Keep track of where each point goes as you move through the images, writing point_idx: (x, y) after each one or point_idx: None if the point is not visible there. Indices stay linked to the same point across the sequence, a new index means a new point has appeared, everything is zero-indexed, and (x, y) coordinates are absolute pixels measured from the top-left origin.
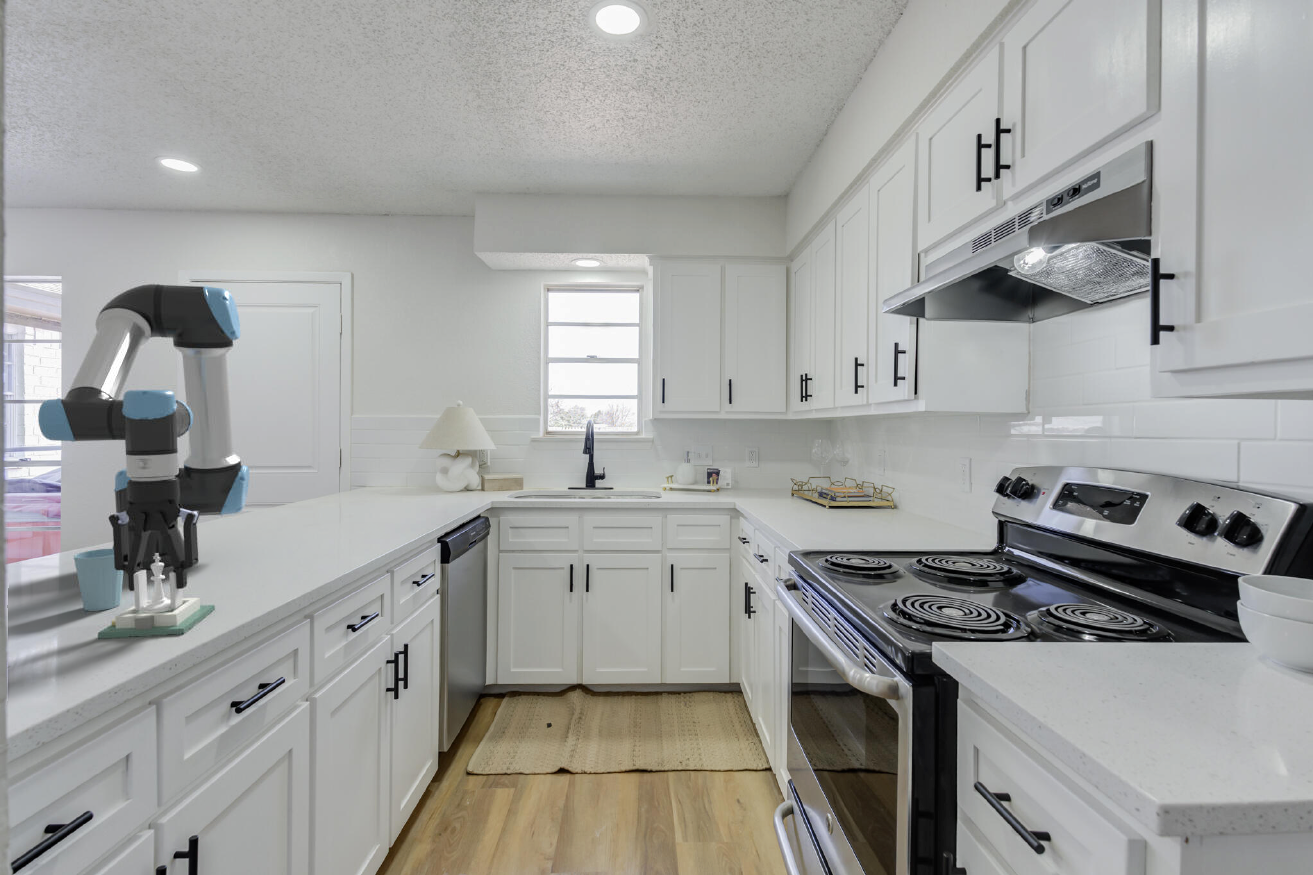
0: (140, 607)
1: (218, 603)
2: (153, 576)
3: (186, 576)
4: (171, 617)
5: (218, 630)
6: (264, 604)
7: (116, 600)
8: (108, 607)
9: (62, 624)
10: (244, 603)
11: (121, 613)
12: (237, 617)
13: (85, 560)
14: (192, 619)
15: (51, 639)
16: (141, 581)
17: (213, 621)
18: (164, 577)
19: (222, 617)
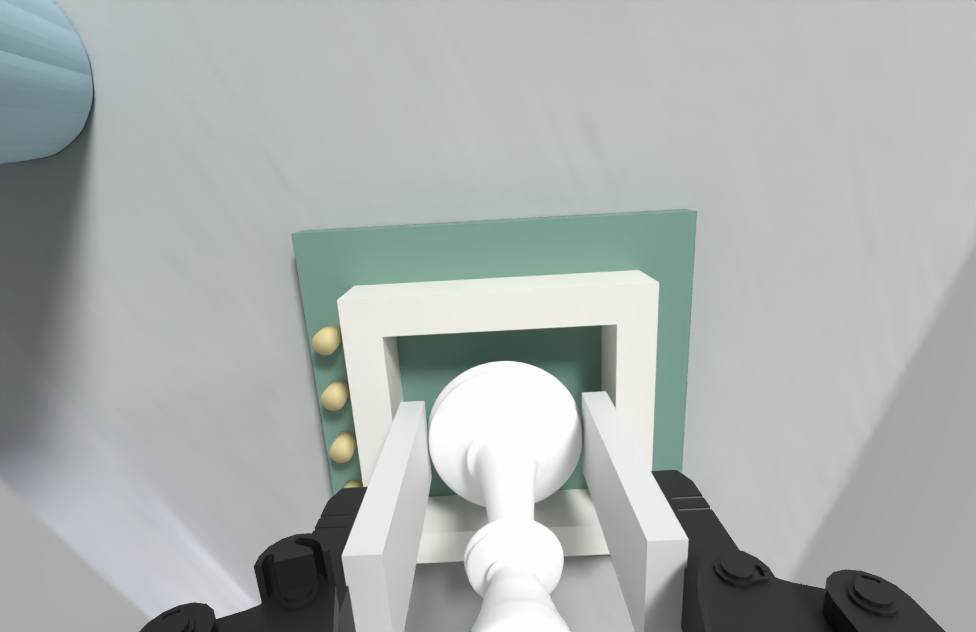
0: (430, 481)
1: (662, 77)
2: (481, 572)
3: (717, 524)
4: None
5: (792, 504)
6: (932, 129)
7: (66, 82)
8: (77, 132)
9: (52, 362)
10: (814, 94)
11: None
12: (832, 344)
13: None
14: (669, 443)
15: (170, 537)
16: (405, 567)
17: (735, 390)
18: (562, 557)
19: (760, 337)
